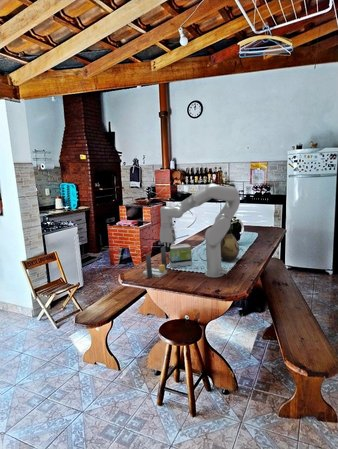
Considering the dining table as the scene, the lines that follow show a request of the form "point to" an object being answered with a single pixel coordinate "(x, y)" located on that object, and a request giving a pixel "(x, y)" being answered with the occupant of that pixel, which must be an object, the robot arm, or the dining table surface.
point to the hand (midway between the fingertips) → (167, 252)
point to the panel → (156, 272)
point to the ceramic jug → (229, 246)
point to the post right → (163, 257)
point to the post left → (149, 266)
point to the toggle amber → (161, 268)
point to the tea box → (180, 255)
